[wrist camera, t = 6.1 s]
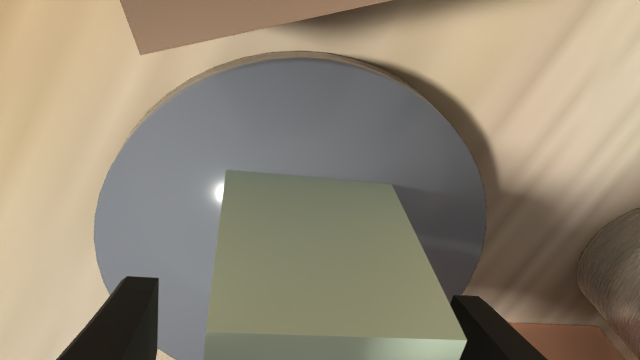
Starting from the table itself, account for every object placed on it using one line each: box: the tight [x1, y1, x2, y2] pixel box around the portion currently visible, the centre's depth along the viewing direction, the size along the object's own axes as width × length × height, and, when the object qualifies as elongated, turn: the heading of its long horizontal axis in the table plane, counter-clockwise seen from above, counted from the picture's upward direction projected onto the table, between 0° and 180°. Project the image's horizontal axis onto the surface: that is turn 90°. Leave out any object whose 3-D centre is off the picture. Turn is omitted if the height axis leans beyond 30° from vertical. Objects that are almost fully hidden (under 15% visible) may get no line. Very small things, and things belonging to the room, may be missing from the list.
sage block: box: [204, 170, 467, 360], centre depth 10 cm, size 4×4×5 cm
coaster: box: [94, 51, 486, 360], centre depth 13 cm, size 10×10×1 cm
